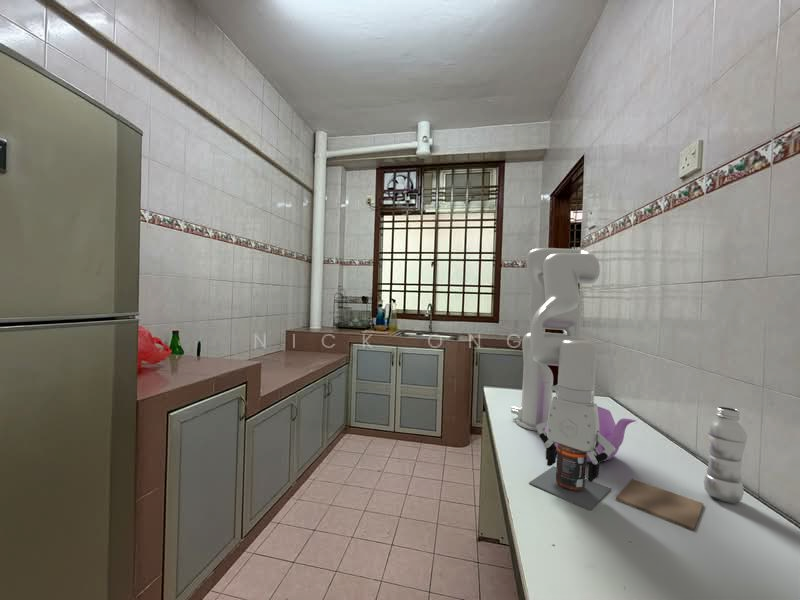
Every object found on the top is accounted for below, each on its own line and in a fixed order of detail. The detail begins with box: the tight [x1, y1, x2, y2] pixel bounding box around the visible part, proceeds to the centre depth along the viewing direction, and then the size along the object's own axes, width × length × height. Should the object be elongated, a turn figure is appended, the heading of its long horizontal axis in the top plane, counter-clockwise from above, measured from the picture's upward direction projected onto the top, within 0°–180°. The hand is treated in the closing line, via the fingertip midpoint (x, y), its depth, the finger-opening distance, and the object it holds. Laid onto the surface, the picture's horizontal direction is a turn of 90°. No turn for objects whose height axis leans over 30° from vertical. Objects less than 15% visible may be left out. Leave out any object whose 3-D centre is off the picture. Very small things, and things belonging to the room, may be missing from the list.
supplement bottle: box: [555, 444, 587, 491], centre depth 80 cm, size 6×6×11 cm
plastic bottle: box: [703, 406, 748, 504], centre depth 79 cm, size 6×7×20 cm
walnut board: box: [615, 478, 704, 531], centre depth 76 cm, size 13×13×1 cm
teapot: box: [545, 405, 637, 463], centre depth 96 cm, size 23×21×15 cm
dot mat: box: [528, 465, 612, 511], centre depth 80 cm, size 13×13×1 cm
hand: (570, 471), depth 80 cm, fingers open, 8 cm apart
